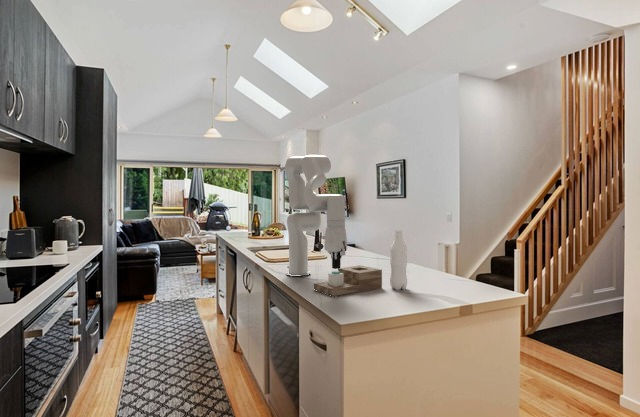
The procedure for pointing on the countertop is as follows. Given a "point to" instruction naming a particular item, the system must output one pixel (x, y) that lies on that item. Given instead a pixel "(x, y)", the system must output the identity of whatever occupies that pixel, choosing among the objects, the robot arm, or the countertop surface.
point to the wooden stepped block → (353, 281)
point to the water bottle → (398, 262)
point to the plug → (335, 278)
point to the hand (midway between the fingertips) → (336, 268)
